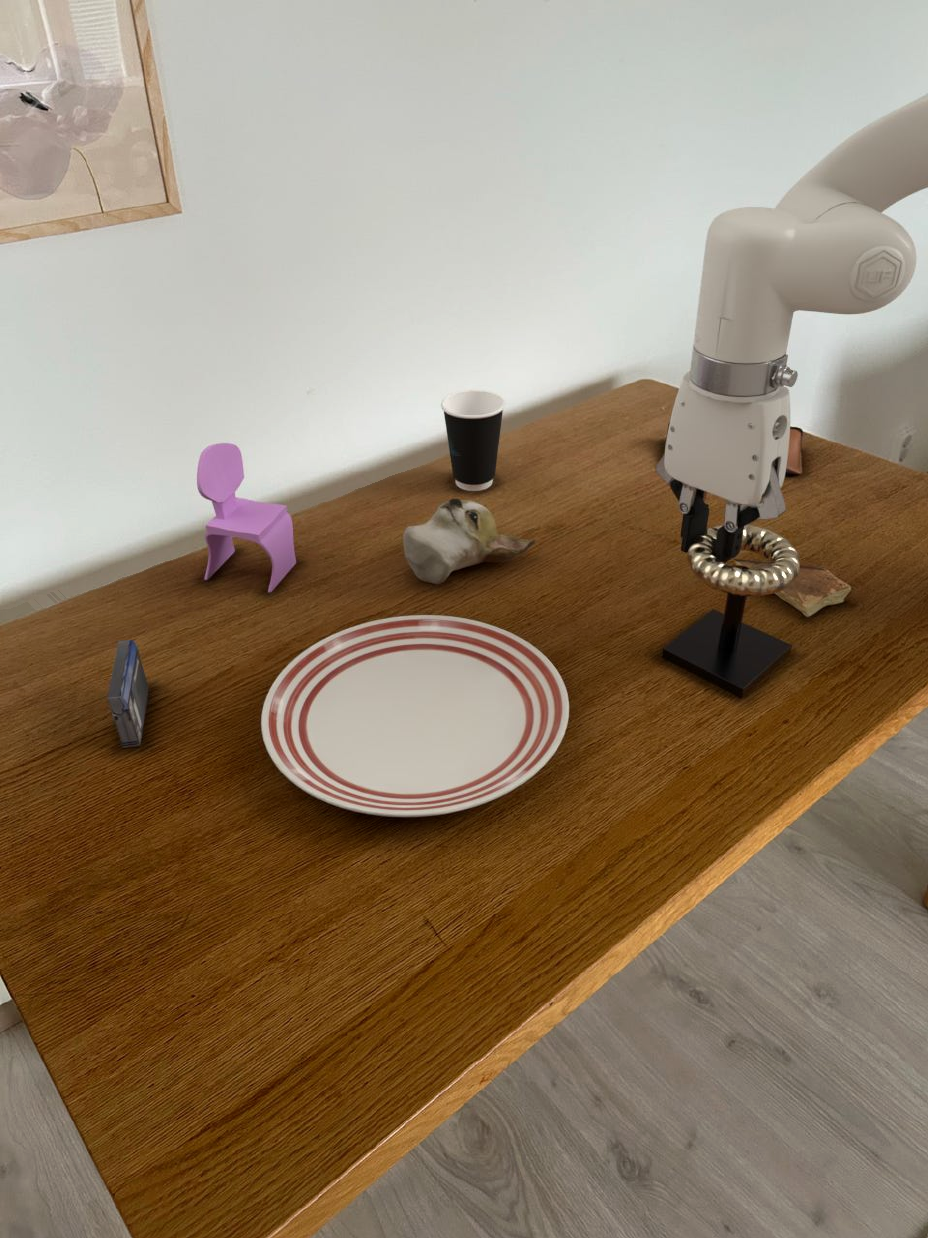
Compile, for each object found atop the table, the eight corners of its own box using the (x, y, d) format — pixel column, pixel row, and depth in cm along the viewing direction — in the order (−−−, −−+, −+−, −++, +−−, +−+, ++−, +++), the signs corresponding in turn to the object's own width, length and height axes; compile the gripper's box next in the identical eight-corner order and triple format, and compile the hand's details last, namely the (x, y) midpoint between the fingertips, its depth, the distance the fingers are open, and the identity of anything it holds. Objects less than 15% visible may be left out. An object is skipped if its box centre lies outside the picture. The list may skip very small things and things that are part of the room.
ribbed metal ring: (817, 567, 91) (822, 545, 90) (761, 616, 85) (765, 593, 84) (723, 529, 97) (726, 508, 95) (664, 572, 91) (667, 551, 90)
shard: (731, 570, 109) (733, 556, 108) (781, 550, 112) (784, 537, 111) (803, 619, 102) (806, 605, 101) (855, 597, 105) (859, 583, 104)
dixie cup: (430, 484, 126) (427, 405, 119) (469, 461, 131) (468, 383, 124) (479, 503, 122) (478, 422, 115) (517, 479, 127) (518, 399, 120)
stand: (789, 654, 97) (810, 568, 91) (741, 698, 92) (759, 610, 86) (711, 617, 102) (725, 534, 96) (661, 657, 97) (673, 571, 91)
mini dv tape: (140, 746, 88) (125, 696, 84) (123, 748, 88) (107, 698, 84) (148, 688, 94) (135, 638, 91) (132, 689, 94) (118, 640, 91)
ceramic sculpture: (375, 499, 105) (479, 462, 114) (376, 567, 110) (475, 527, 119) (438, 539, 99) (543, 497, 107) (436, 610, 104) (537, 564, 112)
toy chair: (270, 598, 106) (250, 475, 97) (199, 585, 108) (173, 463, 100) (304, 558, 112) (288, 439, 103) (236, 546, 115) (215, 429, 106)
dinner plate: (235, 678, 95) (229, 651, 93) (490, 609, 104) (490, 583, 102) (314, 888, 75) (309, 859, 73) (624, 781, 84) (627, 753, 82)
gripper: (849, 380, 80) (806, 569, 91) (679, 332, 89) (659, 509, 100) (802, 410, 75) (764, 604, 86) (630, 356, 85) (615, 538, 95)
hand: (708, 551), depth 93 cm, fingers closed on ribbed metal ring, 2 cm apart
